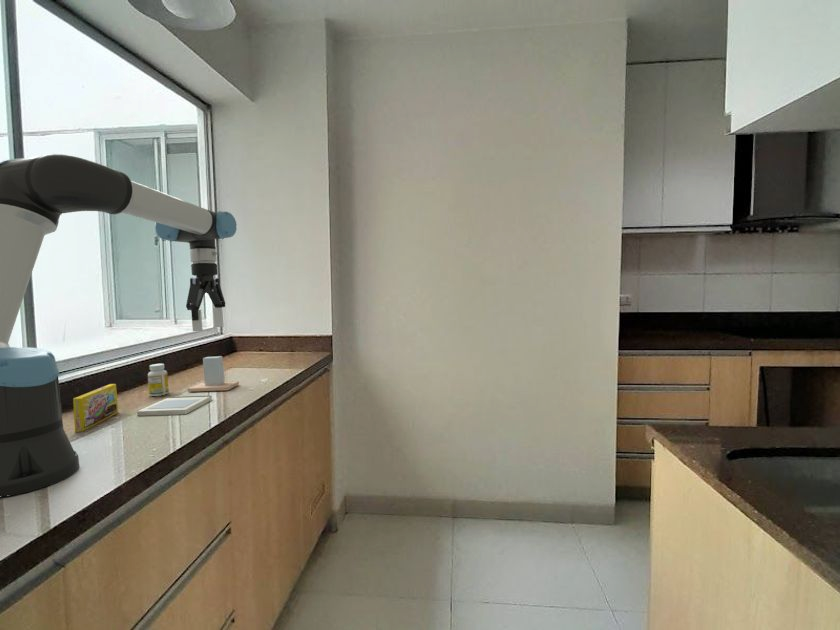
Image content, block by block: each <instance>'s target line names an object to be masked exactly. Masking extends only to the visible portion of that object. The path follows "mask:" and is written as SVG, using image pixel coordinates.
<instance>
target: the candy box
mask: <svg viewBox="0 0 840 630" xmlns="http://www.w3.org/2000/svg"><path fill="white" fill-rule="evenodd" d="M72 400H73V401H72V402H73V403H72V404H73V419H74V433H81V432H85V431H86V430H88V429H90V428H92V427H94V426H96V425H97V424H99V423H102V422H103V421H105V420H106V419H110V418H111V417H112V416H114V415H116V414H118V413H119V409H118V407H119V405H118V391H117V384H116V383H109V384H107V385H104V386H101V387H100V388H99V387H98V388H97V389H94V390H91V391H89V392H87V393H84V394H81V395H79V396H77V397H73V399H72Z"/></svg>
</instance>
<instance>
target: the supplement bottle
mask: <svg viewBox="0 0 840 630" xmlns="http://www.w3.org/2000/svg"><path fill="white" fill-rule="evenodd" d="M149 370H150V371H148V373H147V382H148V383H147V384H148V392H149V393H148V394H149V396H150V397H152V396H156V397H162V396H161V395H163V396H166V395H168V394H169V391H170V389H169V377H168V371H167V370H166V369H165V364H164V363H155V364H154V363H153V364H150V365H149ZM165 394H166V395H165Z"/></svg>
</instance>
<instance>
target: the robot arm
mask: <svg viewBox="0 0 840 630" xmlns="http://www.w3.org/2000/svg"><path fill="white" fill-rule="evenodd" d="M76 212H101V213H106V214H110V215H119V214H122V213H123V214H126V215H129V216H133V217H136V218H140V219H142V220H147V221H150V222H153V223H154V232H155V233H156V235H157V237H159V239H161V240H163V241H168V242H170V243H171V242H175V243H176V242H178V243H188V245H189V254H190V255H189V256H190V262H191V265H190V267H191V269H190V270H191V275H192V276H195V277H190V279H189V289H188V294H187V300H186V305H185V306H186V309H187V311H190V312H191V323H192V324H191V325H192V332H203V331H204V329H203V316H202V309H200V308H201V305H202V303H203V300H204V297H205V294H207V295H208V296H209V299H210V300H211V302H212V304H213V306H214V307H212V308H213V311H212V312H213V324H214V328H223V327H224V317H223V315H224V314H223V308H226V301H225V298H224V294H223V291H222V288H221V284H220V279H219V278H218V277H217V278H216V277H215V278H214V276H217V275H218V273H219V272H218V263H216V262H217V261H218V260H217V255H218V252H217V250H216V249H217V247H216V240H218V239H219V240H224V239H228V238H232V237H234V236H235V234H236V233H237V230H238V229H237V220H236V218H235V216H234V215H233V214H232V213H231V212H230V211H229V212H228V211H222V210H221V211H212V210H209V209H206V208H204V207H202V206H198V205H196V204H193V203H190V202H188V201H186V200H182V199H180V198H178V197H175V196H173V195H169V194H167V193H165V192H162V191H160V190H157V189H153V188H151V187H149V186H146V185H144V184H141V183H138V182H135V181H134V180H132V179H131V178H130V176H129V175H128V174H126V173H124V172H122V171H120V170H117V169H114V168H112V167H109V166H107V165H103V164H102V163H98V162H95V161H92V160H88V159H85V158H82V157H78V156H74V155H70V154H60V153H52V154H44V155H39V156H30V157H22V158H10V159H5V160H3V161H1V162H0V496H7V495H12V496H15V495H14V494H17V495H20V494H24V493H30V492H31V491H32V492H33V491H35V490H36V491H37V490H40V489H43V488H45V487H48V486H50V485H53V484H56V483H59V482H61V481H62V480H65V479H66V478H69V477H70V476H72V475H73V474H75V473H76V472H78V470H79V469H80V459H79V454H78V453H77V451H76V450H74V448H73V446H72V443H71V442H70V439H69V437H68V436H67V433H66V431H65V429H64V422H63V414H62V403H61V392H60V391H61V390H60V382H59V381H60V380H59V374H60V373H59V372H60V371H59V368H58V365H57V360H56V357H55V355H54V354H53V353H52V352H51V351H49V350H47V349H45V348H44V349H43V348H38V347H30V346H29V347H28V346H26V347H24V346H23V347H17V346H16V347H12V346H10V344H9V341H10V339H11V336H12V333H13V329H14V326H15V323H16V321H17V317H18V315H19V312H20V308H21V306H22V302H23V300H24V297H25V295H26V291H27V288H28V286H29V282H30V280H31V276H32V274H33V271H34V267H35V264H36V261H37V259H38V256H39V252H40V250H41V247H42V243H43V242H44V238H45V236H46V235H50V234H52V233H54V232H56V231H57V229H58V226H59V223H60V221H61V216H62V214H67V213H76ZM7 497H8V496H7Z"/></svg>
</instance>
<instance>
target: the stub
mask: <svg viewBox="0 0 840 630" xmlns="http://www.w3.org/2000/svg"><path fill="white" fill-rule="evenodd" d="M223 361H224V360H223V356H222V355H218V356H217V355H216V356H206V357H202V364H203V365H202V367H203V378H204V382H199V383H197V384H195V385H193V386H190V387H188V388H187V392H188V393H189V392H190V393H191V392H214V391H215V392H217V391H229V390H231V389H233V388H235V387H237V386H239V385H240V381H225V375H224V373H225V372H224V362H223Z"/></svg>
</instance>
